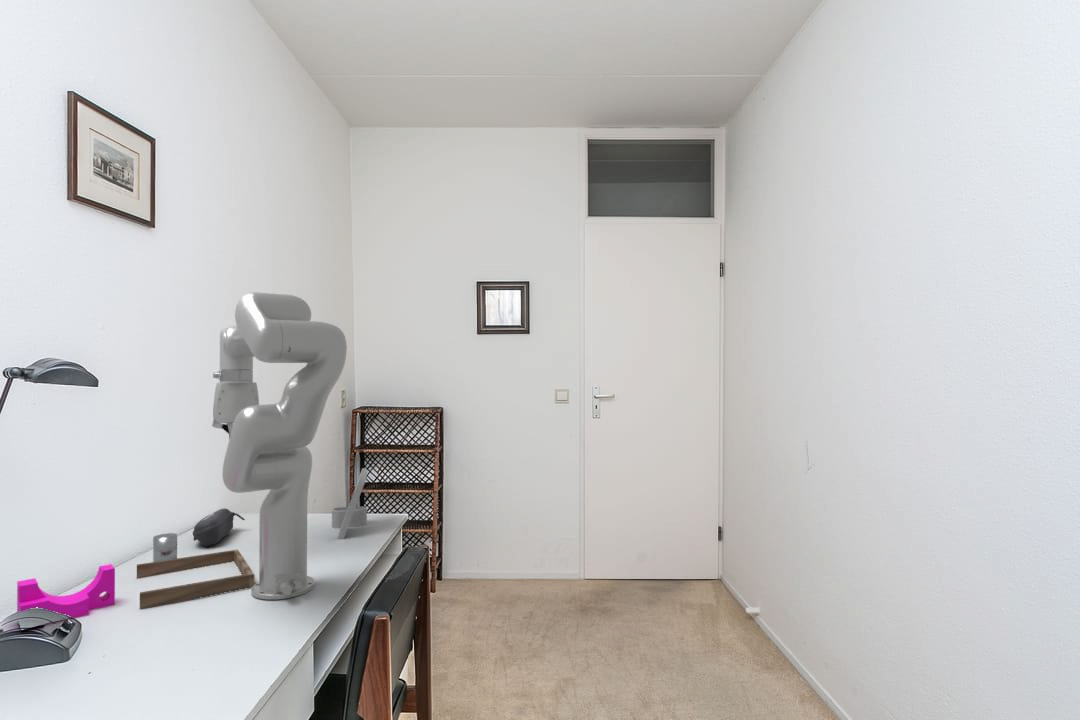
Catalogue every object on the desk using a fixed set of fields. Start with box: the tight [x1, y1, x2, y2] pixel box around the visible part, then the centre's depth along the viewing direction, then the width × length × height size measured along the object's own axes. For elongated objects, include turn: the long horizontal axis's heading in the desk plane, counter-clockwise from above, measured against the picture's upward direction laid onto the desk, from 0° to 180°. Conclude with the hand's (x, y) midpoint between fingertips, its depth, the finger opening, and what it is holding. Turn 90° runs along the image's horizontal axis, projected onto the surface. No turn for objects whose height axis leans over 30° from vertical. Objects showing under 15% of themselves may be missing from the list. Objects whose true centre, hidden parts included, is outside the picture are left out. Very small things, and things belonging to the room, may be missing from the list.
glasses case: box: [192, 508, 245, 548], centre depth 173 cm, size 18×10×8 cm, turn 12°
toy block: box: [16, 563, 116, 619], centre depth 123 cm, size 15×6×8 cm, turn 134°
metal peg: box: [152, 532, 178, 562], centre depth 153 cm, size 5×5×7 cm
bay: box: [136, 549, 255, 610], centre depth 140 cm, size 22×21×3 cm
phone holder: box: [331, 467, 369, 540], centre depth 179 cm, size 17×10×18 cm, turn 14°
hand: (236, 450), depth 158 cm, fingers closed
